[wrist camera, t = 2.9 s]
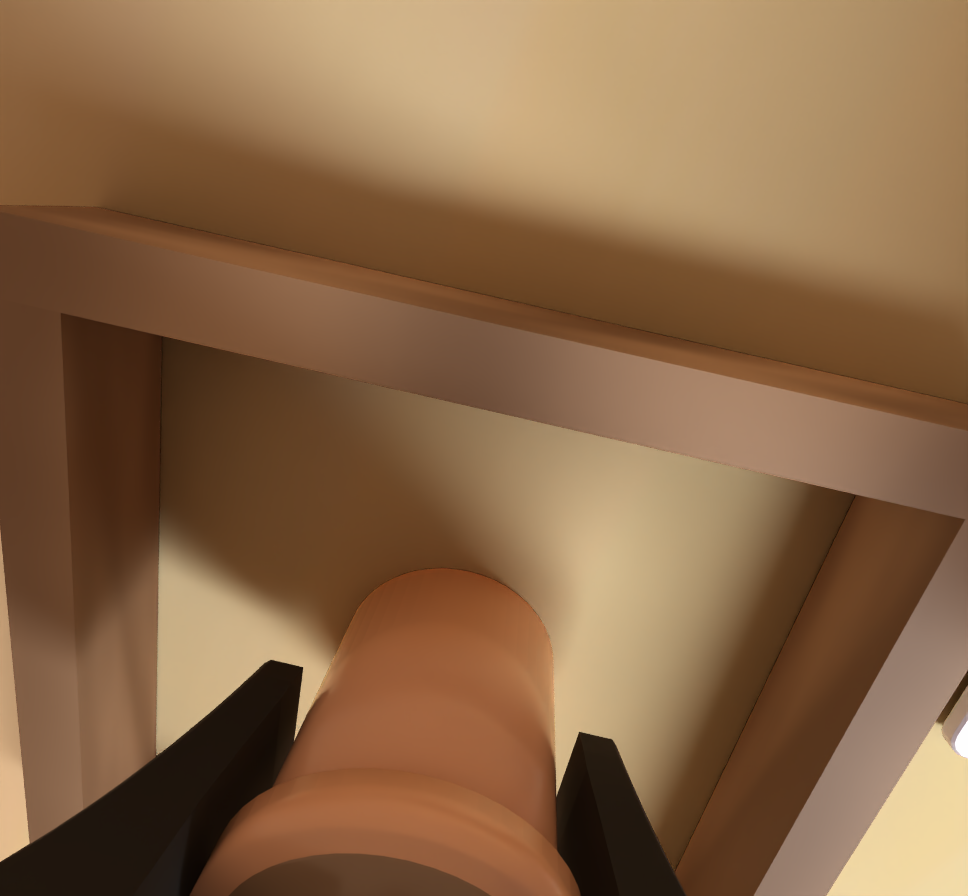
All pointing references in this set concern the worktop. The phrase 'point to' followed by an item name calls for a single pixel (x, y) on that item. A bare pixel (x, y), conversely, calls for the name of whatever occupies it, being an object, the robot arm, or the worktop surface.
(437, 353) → the frame
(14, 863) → the robot arm
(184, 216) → the worktop surface
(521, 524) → the worktop surface
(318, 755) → the terracotta pot
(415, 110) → the worktop surface
